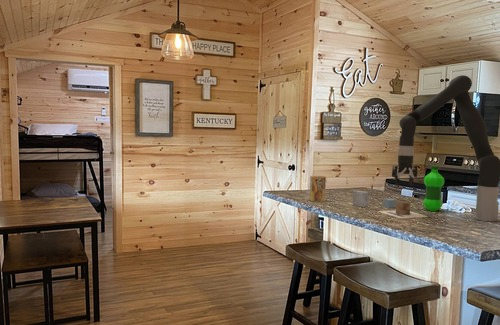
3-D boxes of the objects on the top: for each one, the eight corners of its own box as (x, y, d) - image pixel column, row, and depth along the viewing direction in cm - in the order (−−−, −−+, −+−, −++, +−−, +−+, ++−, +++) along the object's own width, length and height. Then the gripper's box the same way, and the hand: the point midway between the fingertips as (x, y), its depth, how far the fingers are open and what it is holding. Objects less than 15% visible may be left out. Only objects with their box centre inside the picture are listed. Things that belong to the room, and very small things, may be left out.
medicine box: (368, 206, 242) (369, 191, 242) (364, 207, 239) (365, 192, 238) (356, 204, 248) (356, 190, 247) (352, 205, 244) (352, 191, 244)
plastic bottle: (419, 210, 235) (422, 165, 233) (426, 207, 243) (429, 165, 241) (438, 212, 228) (440, 167, 226) (444, 210, 236) (447, 166, 234)
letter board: (405, 210, 232) (405, 210, 232) (428, 217, 215) (428, 216, 215) (377, 212, 226) (377, 211, 226) (399, 219, 209) (399, 218, 209)
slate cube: (390, 206, 243) (390, 198, 243) (395, 208, 239) (396, 199, 238) (382, 207, 242) (383, 198, 241) (388, 208, 237) (388, 200, 237)
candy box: (322, 199, 263) (323, 175, 262) (325, 201, 259) (326, 176, 258) (309, 200, 261) (310, 175, 260) (311, 201, 257) (312, 176, 256)
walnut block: (403, 212, 224) (403, 201, 223) (409, 214, 219) (410, 203, 218) (395, 213, 222) (396, 202, 221) (401, 215, 217) (402, 203, 217)
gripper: (412, 154, 224) (410, 184, 225) (389, 154, 219) (388, 184, 221) (421, 155, 217) (420, 186, 218) (399, 155, 212) (397, 186, 213)
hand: (404, 185), depth 219 cm, fingers open, 8 cm apart
